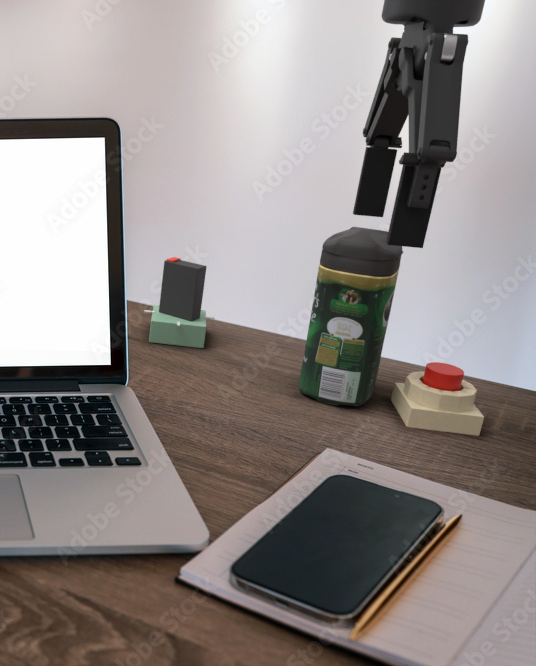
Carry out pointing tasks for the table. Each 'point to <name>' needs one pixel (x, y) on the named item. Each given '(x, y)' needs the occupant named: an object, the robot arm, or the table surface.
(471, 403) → the button housing
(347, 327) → the coffee jar
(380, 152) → the robot arm
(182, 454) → the table surface
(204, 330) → the dial panel
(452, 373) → the button
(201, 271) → the black box red top
